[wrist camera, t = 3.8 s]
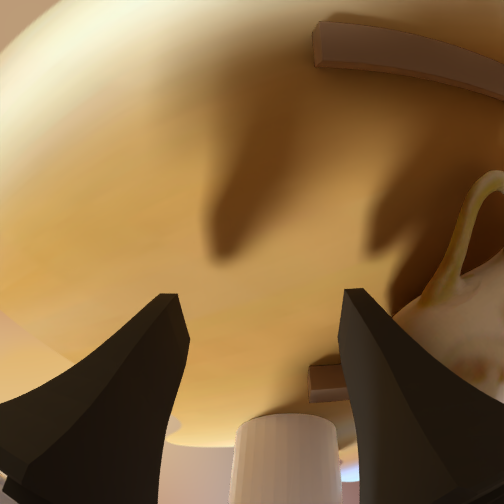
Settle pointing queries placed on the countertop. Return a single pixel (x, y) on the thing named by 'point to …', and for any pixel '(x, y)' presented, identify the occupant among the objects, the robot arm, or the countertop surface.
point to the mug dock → (403, 63)
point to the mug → (464, 304)
